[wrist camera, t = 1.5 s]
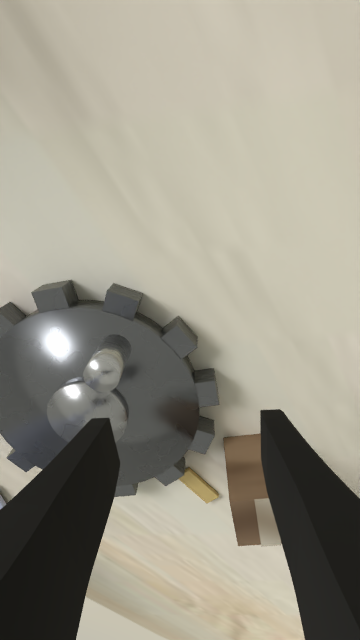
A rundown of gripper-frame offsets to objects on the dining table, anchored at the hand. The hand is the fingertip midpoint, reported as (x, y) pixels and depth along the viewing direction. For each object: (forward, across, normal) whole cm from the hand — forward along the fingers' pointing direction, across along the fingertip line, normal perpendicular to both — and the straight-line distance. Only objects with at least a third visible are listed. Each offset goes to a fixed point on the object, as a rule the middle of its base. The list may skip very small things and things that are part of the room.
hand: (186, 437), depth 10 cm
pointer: (+9, +1, +14) cm, 17 cm away
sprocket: (+9, +7, +5) cm, 13 cm away
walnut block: (+10, -4, +11) cm, 15 cm away
